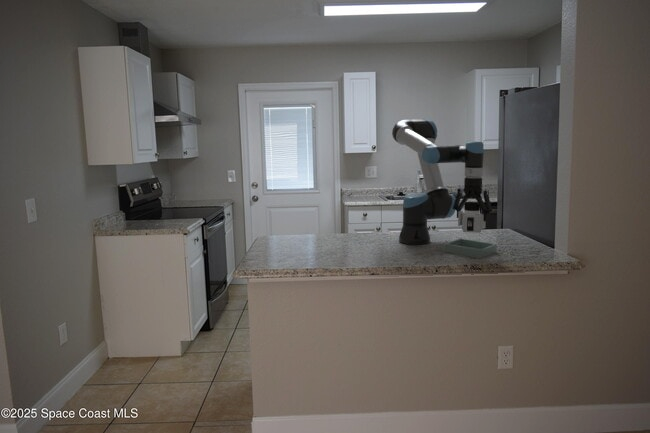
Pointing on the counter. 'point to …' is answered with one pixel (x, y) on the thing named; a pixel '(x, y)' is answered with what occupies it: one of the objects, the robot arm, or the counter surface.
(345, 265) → the counter surface
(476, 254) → the box
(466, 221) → the container
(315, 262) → the counter surface
